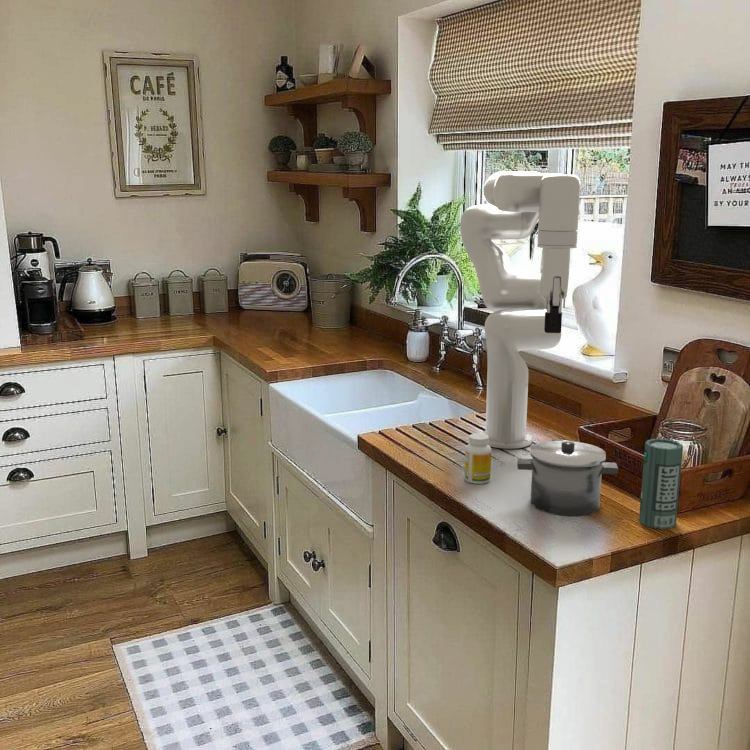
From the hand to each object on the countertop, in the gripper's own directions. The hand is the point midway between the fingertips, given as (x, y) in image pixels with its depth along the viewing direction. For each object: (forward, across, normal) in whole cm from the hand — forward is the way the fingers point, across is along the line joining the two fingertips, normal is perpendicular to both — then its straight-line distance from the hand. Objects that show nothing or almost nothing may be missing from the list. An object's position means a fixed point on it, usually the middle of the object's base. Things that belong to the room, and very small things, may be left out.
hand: (552, 332), depth 165 cm
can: (+31, +20, +19) cm, 42 cm away
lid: (+22, +13, +3) cm, 25 cm away
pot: (+31, +13, +3) cm, 34 cm away
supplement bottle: (+31, +3, -14) cm, 34 cm away
